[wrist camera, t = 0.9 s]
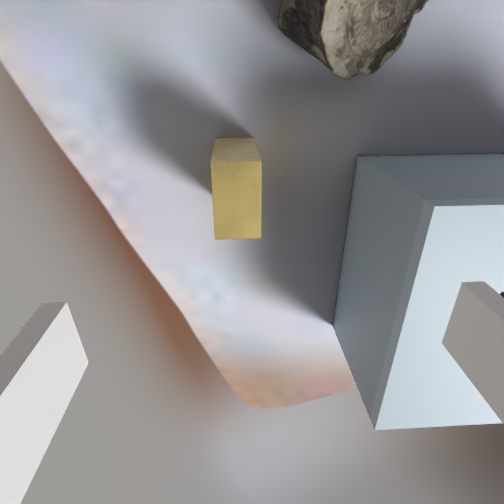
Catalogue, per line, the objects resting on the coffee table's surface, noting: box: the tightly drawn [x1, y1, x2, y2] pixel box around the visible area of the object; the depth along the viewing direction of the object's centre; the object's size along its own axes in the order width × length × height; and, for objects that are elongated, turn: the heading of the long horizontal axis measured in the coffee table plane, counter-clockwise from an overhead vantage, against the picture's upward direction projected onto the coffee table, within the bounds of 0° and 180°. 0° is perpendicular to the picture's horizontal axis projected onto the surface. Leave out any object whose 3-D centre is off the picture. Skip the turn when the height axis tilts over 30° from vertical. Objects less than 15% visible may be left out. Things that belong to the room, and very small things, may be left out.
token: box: [210, 138, 262, 240], centre depth 24 cm, size 5×3×8 cm, turn 0°
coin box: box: [333, 153, 504, 430], centre depth 27 cm, size 18×16×12 cm
